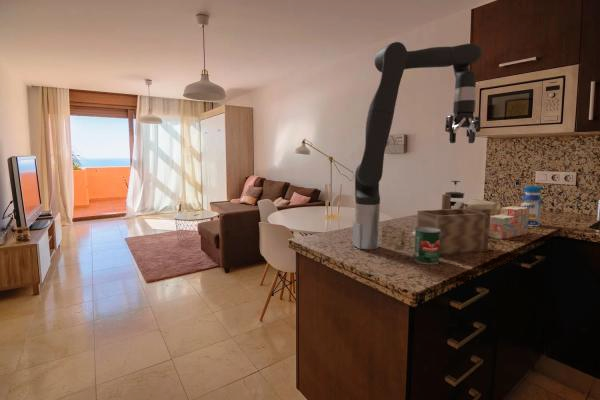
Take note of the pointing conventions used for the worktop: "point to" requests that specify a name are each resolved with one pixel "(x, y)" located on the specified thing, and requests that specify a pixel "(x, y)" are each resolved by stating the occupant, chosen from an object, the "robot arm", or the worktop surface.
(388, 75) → the robot arm
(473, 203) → the key bar
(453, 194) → the french press
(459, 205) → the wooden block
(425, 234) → the canned tomato
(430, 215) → the storage box
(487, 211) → the post
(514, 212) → the stack of blocks
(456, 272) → the worktop surface
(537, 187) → the beverage bottle
